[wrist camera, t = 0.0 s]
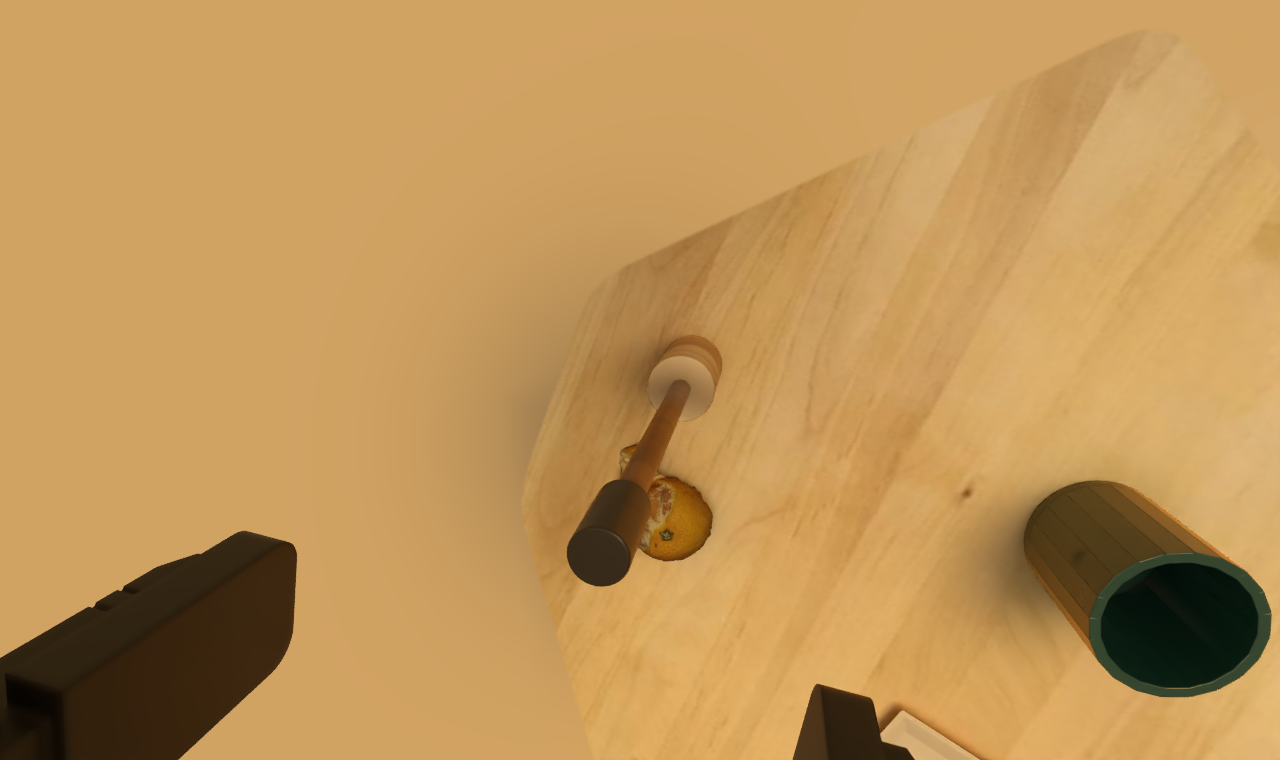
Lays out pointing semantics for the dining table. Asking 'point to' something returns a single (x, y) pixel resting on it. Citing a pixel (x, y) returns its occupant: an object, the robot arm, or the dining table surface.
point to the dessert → (922, 740)
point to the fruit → (673, 517)
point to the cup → (1146, 591)
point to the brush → (644, 463)
